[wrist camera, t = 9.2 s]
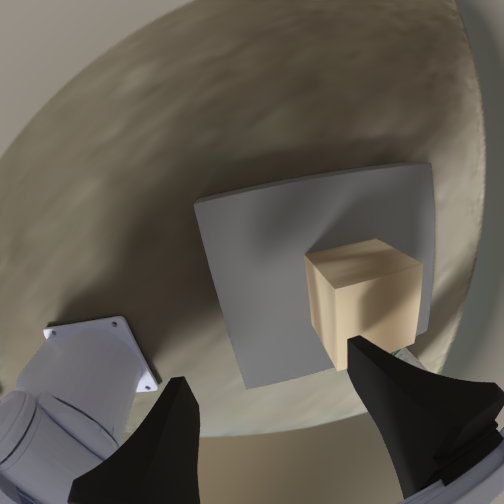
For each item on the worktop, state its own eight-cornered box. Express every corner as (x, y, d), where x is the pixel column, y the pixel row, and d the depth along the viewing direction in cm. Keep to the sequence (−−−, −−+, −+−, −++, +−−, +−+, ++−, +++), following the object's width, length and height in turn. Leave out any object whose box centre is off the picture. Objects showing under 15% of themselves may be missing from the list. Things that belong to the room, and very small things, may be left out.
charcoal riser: (243, 365, 22) (246, 389, 19) (198, 198, 18) (193, 204, 15) (409, 315, 22) (426, 331, 20) (407, 161, 18) (431, 163, 15)
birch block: (311, 323, 18) (337, 371, 13) (304, 254, 16) (335, 289, 12) (376, 305, 18) (414, 343, 13) (376, 238, 16) (423, 264, 12)
